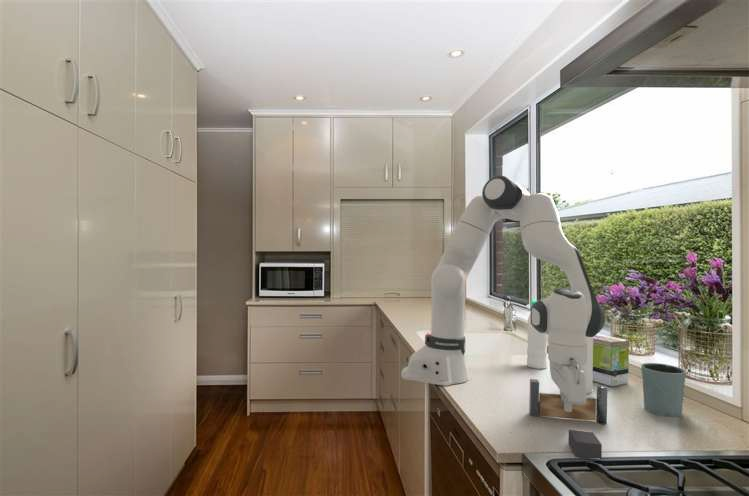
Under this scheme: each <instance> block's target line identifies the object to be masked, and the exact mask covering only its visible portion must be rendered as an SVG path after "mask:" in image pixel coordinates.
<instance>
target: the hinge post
mask: <svg viewBox="0 0 749 496" xmlns="http://www.w3.org/2000/svg"><path fill="white" fill-rule="evenodd" d="M595 395H596V396H595V398H596V421H595V422H596V423H597V424H600V425H607V424H608V422H607V421H608V387H607V386H606V385H605V386H604V385H596V394H595Z"/></svg>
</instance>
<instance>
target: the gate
mask: <svg viewBox="0 0 749 496" xmlns="http://www.w3.org/2000/svg"><path fill="white" fill-rule="evenodd" d="M561 403H562V400H561V395H560V393H559V394H558V393H545V392H539V415H538V416H539V417H543V418H544V417H545V418H546V417H547V418H557V419H568V420H581V421H593V422H596V396H587V395H586V403H585V404H584V405H579V404H572V411H571V412H566V411H565V410H564V409H563V407H562V406H561Z"/></svg>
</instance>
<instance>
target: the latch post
mask: <svg viewBox="0 0 749 496" xmlns="http://www.w3.org/2000/svg"><path fill="white" fill-rule="evenodd" d="M539 393H540V381H539V379H537V378H536V379H533V378H529V404H528V405H529V408H528V409H529V413H528V414H529V416H530V417H536V418H537V417H539V416H540V415H539Z"/></svg>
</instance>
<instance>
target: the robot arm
mask: <svg viewBox="0 0 749 496" xmlns="http://www.w3.org/2000/svg"><path fill="white" fill-rule="evenodd" d="M499 220H502V221H503V223H513V224H514V223H515V224H519V225H520V234H521V236H520V237H521V241H522V245H523V248H524V249H525V251H526V252H527V253H528V254H529V255H531V256H532V257H534V258H536V259H537V260H540V261H544V262H546V263H549V264H551V265H553V266H555V267H558V268H560V269H561V270H562V271H563V272H564V273H565V275H566V277H567V279H568V282H569V285H570V286H569V287H570V288H565V287H563V288H556V289H555V288H554V289H553V290H551V292H550V294H549V296H548V297H545V298H542V299H538V300H535V301H536V302H535V303H534V304H533V306H531V307H530V313H531V324H532V326H533V327H534V328H535V329H536V330H537V331H538V332H540V333H544V334H547V335H549V337H548V339H547V359H548V361H549V374H550V378H551V381H552V382H553V383H554V384H555V385H556V387H557V388H558V389H559V394H560V395H561V400H562V403H561V406H562V407H563V409H564V410H565V411H566V412H571V411H572V404H579V405H584V404H585V403H586V396H587V394H586V379H585V373H584V371H583V370H582V369H581V365H585V364H587V340H586V337H593V336H595V335H596V334H598V335H599V333H601V331H602V329H603V328H604V327H605V324H606V316H605V312H604V310H603V307H602V306H601V303H600V301H599V300H598V298H597V296H596V294H595V291H594V289H593V285H592V283H591V280H590V276H589V275H588V271H587V269H586V267H585V266H586V265H585V264H584V261H583V259H582V256H581V254H580V252H579V250H578V249H577V247H576V246H575V245H573V244H572V243H571V242H569V240H568V238H566V236H565V234H564V232H563V229H562V224H561V220H560V216H559V212H558V209H557V206H556V204H555V202H554V199H553V197H551V196H550V195H548V194H547V193H543V192H542V193H541V192H538V193H533V194H531V193H530V191H528V189H527V188H525V187H524V186H523V185H521V184H520V183H517V182H516V181H515V180H514V179H513V178H511V177H507V176H505V175H496V176H492V177H491V178H490V179H489V180H487V181H486V183H485V184H484V186H483V188H482V193H481V195H477V196H474V197H473V198H472V199H471V201H470V202H469V203H468V204H467V206H466V207H465V209H464V210H463V212H462V214H461V216H460V218H459V220H458V222H457V224H456V226H455V228H454V230H453V233H452V234H451V236H450V238H449V240H448V242H447V245H446V247H445V249H444V252H443V254H442V256H441V258H440V261H439V262H438V263H437V267H436V268H435V269H434V270H433V272H432V274H431V281H430V282H431V285H430V287H431V288H430V291H431V292H430V293H431V295H430V296H431V300H430V301H431V324H430V325H431V327H430V328H431V329H430V330H431V331H430V332H431V333H428V332H427V333H426V334H425V335H424V346H422V347H420V348H419V349H418V350H416V351H415V352H413V353H412V354H411V356H410V358H409V360H408V363H407V366H406V367H404V368H403V369H402V370H401V374H400V376H401V378H402V379H403V380H407V381H414V382H420V383H427V384H432V385H438V386H443V387H444V386H446V387H447V386H450V385H451V386H452V385H454V384H456V385H457V384H462V383H466V382H468V380H469V377H468V373H467V368H466V361H465V353H466V337H465V309H466V283H467V282H466V281H467V279H468V276H470V273H471V271H472V270H473V267H474V265H475V263H476V262H477V259H478V258H479V256H480V254H481V252H482V250H483V247H484V246H485V244H486V241H487V239H488V238H489V236H490V234H491V232H492V229H493V227H494V226H495V223H497V222H498V221H499Z"/></svg>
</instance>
